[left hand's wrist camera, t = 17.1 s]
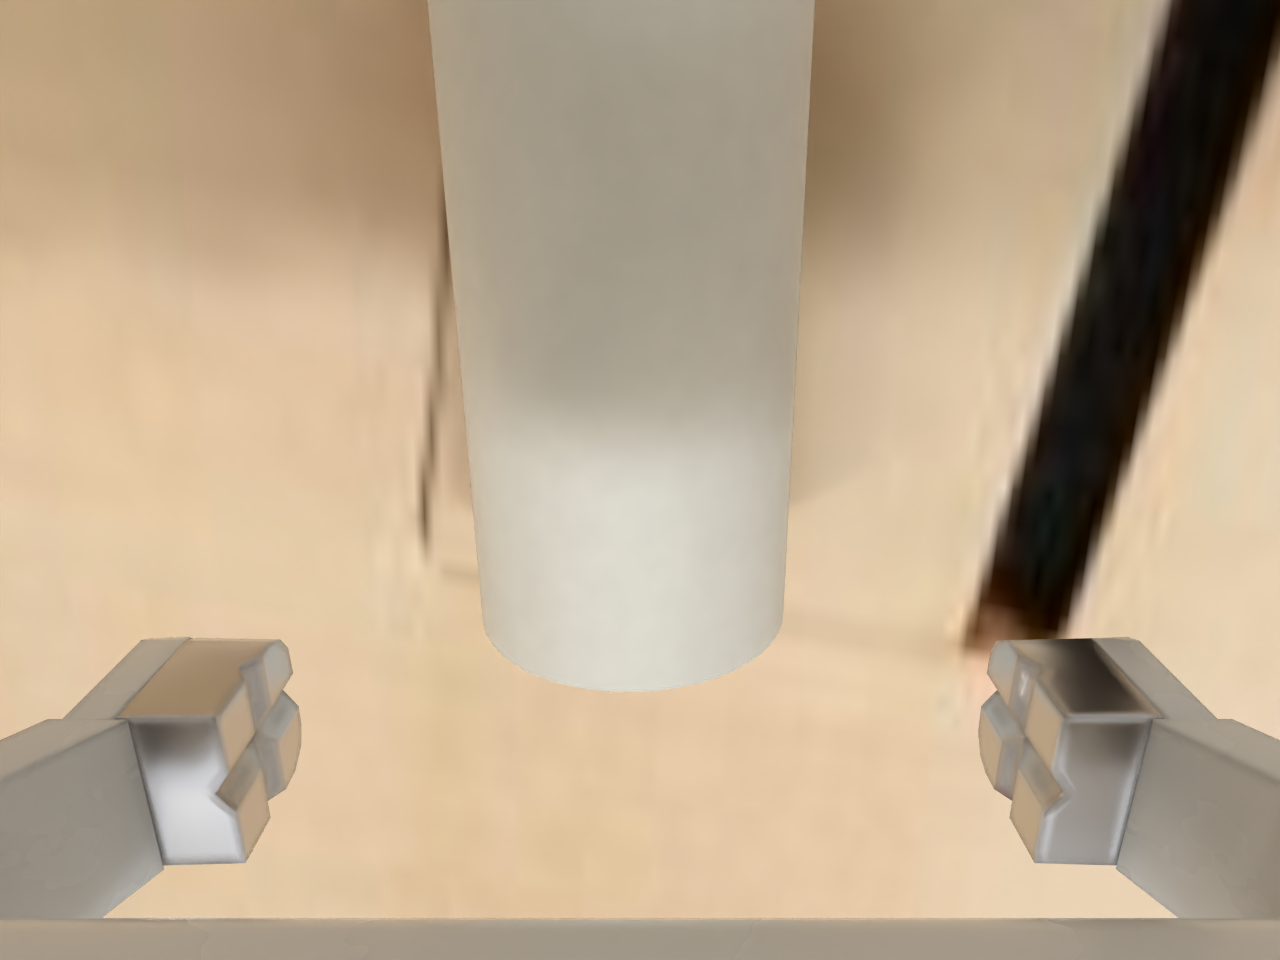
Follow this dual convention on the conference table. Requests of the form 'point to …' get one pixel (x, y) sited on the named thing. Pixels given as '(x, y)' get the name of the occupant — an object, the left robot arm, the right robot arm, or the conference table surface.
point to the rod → (627, 322)
